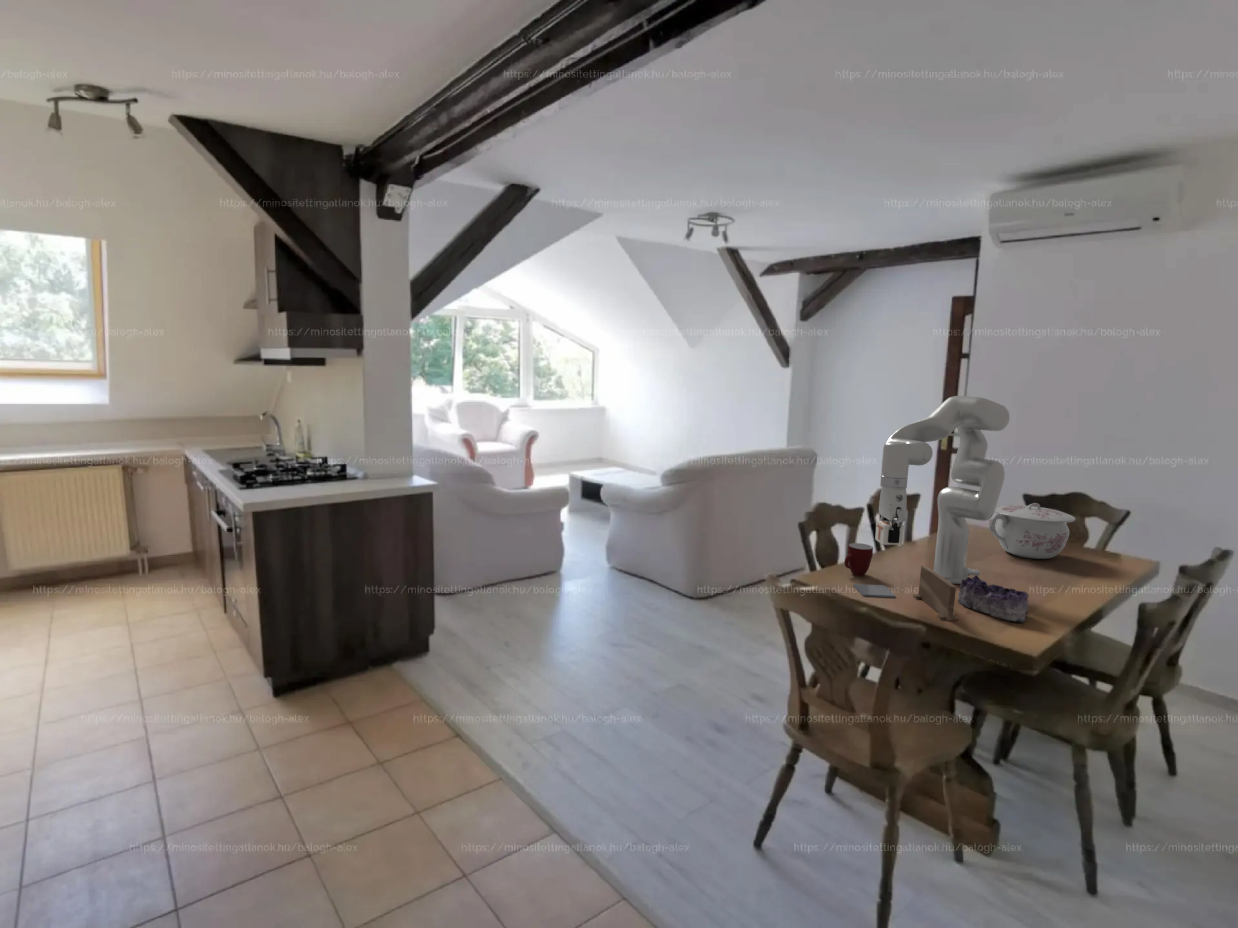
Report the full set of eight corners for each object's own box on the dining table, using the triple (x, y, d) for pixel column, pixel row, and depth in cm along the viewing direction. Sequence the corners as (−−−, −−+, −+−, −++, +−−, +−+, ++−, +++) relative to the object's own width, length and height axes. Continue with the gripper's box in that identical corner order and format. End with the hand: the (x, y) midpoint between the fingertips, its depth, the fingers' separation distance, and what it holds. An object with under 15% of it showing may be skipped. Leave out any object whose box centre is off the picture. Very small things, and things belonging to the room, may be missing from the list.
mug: (856, 580, 224) (859, 551, 222) (836, 574, 230) (838, 545, 229) (875, 575, 230) (878, 547, 229) (855, 569, 237) (857, 541, 235)
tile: (884, 586, 218) (884, 585, 218) (895, 597, 208) (895, 595, 208) (853, 585, 219) (853, 583, 218) (863, 596, 209) (863, 594, 209)
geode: (947, 606, 203) (951, 573, 203) (964, 603, 210) (968, 572, 210) (1020, 625, 187) (1025, 589, 187) (1036, 621, 194) (1040, 587, 194)
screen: (928, 596, 210) (931, 565, 209) (958, 620, 190) (962, 587, 189) (912, 596, 210) (915, 565, 209) (940, 620, 190) (944, 586, 189)
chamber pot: (1069, 553, 268) (1076, 502, 265) (1071, 569, 245) (1078, 514, 242) (989, 541, 283) (995, 493, 280) (984, 555, 260) (990, 503, 257)
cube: (894, 539, 210) (895, 520, 209) (902, 544, 204) (904, 525, 203) (874, 539, 210) (876, 519, 209) (882, 544, 204) (883, 524, 203)
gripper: (918, 487, 196) (913, 547, 198) (894, 477, 213) (889, 532, 215) (893, 487, 196) (887, 547, 198) (870, 477, 213) (866, 532, 215)
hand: (888, 539), depth 207 cm, fingers closed on cube, 6 cm apart
